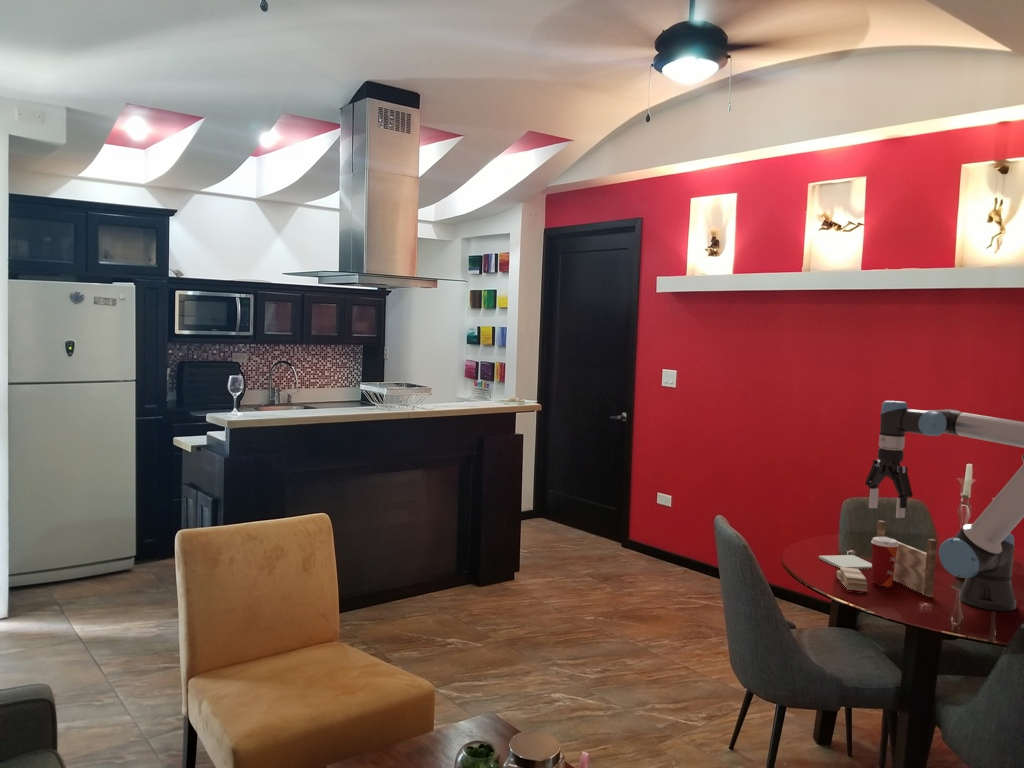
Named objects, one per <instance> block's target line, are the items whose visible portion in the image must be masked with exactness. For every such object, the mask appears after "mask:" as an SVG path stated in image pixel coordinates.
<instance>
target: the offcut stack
mask: <svg viewBox="0 0 1024 768" xmlns="http://www.w3.org/2000/svg"><path fill="white" fill-rule="evenodd" d="M836 577H837V578H838V579H839V580H840V581H841V582H840V581H839V580H838V579H837V580H838V581H839V582H840V583H842V584H843V585H844V586H845V587H846V588H847V590H857V591H867V592H868V582H867V578H866V576H865V575H864V574H863V573H862V571H861V569H860V570H859V569H856V568H845V567H840V569H839V570H838V569H837V570H836ZM842 584H841V585H842ZM843 585H842V586H843ZM844 586H843V587H844ZM845 587H844V588H845ZM847 590H846V591H847Z"/></svg>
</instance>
